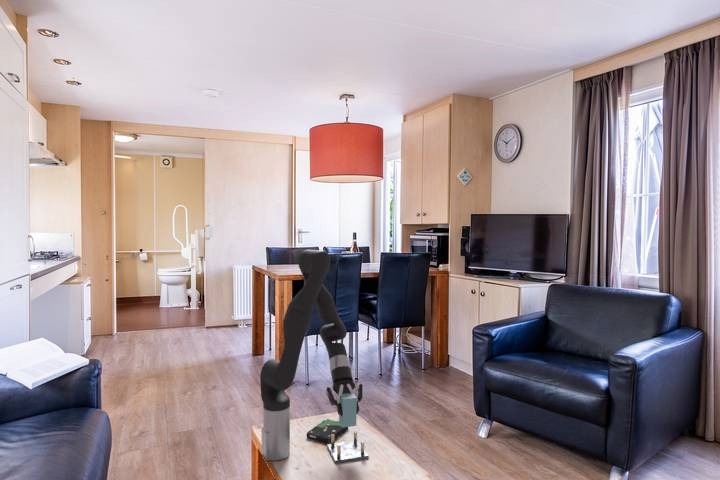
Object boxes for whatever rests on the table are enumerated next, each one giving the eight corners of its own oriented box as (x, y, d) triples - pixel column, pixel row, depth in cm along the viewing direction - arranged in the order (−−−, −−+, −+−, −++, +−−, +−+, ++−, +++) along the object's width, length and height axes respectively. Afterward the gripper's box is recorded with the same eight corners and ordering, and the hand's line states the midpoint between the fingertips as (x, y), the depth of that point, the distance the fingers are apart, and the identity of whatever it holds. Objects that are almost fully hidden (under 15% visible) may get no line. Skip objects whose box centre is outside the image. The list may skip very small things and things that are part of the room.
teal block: (342, 427, 159) (342, 399, 159) (339, 421, 164) (339, 394, 164) (356, 425, 161) (356, 397, 160) (352, 419, 166) (352, 392, 165)
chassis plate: (335, 463, 155) (335, 449, 155) (327, 447, 167) (327, 433, 166) (368, 458, 159) (368, 444, 159) (358, 442, 170) (358, 429, 170)
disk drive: (329, 446, 169) (348, 429, 182) (329, 438, 169) (348, 422, 182) (306, 439, 173) (326, 424, 187) (306, 432, 173) (326, 417, 187)
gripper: (323, 366, 167) (331, 412, 156) (360, 363, 171) (371, 407, 160) (320, 376, 172) (327, 421, 161) (356, 373, 176) (366, 416, 165)
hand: (349, 414), depth 161 cm, fingers closed on teal block, 5 cm apart
